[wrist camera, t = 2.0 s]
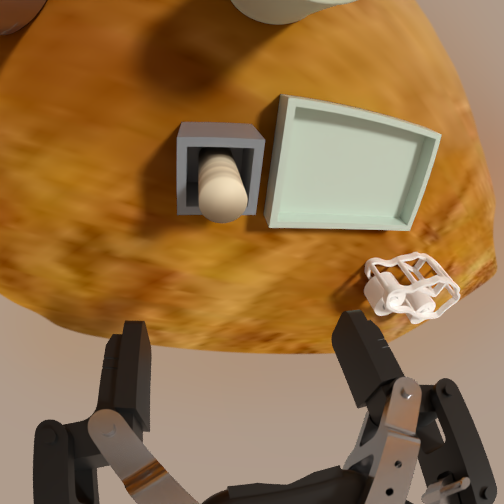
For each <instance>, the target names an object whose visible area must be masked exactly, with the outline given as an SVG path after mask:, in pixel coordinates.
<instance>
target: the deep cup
mask: <svg viewBox="0 0 504 504" xmlns="http://www.w3.org/2000/svg"><path fill="white" fill-rule="evenodd" d="M264 146H265V139H264V138H263V137H262V135H261V134H260V133H259V132H258V131H257V129H256V128H255V127H254V126H253V125H252V124H241V123H219V122H182V123H181V126H180V129H179V132H178V136H177V215H203V214H202V212H201V211H200V208H199V191H198V156H199V152H200V150H201V149H202V148H203V147H229V148H230V150H231V152H232V155H233V158H234V161H235V163H236V166H237V169H238V172H239V174H240V177H241V180H242V183H243V186H244V188H245V191H246V194H247V199H248V201H247V206H246V209H245V211H244V212H243V214H242V215H256V209H257V201H258V193H259V185H260V178H261V170H262V162H263V154H264Z"/></svg>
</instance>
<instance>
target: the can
mask: <svg viewBox="0 0 504 504" xmlns="http://www.w3.org/2000/svg"><path fill="white" fill-rule="evenodd" d="M354 1H357V0H231V2H232V3H233V4H234V6H235V7H236V8H237V9H238V10H239V11H241V12H242V13H243V14H245V15H246V16H248V17H250V18H252V19H254V20H256V21H259V22H263V23H267V24H276V25H280V24H289V23H293V22H296V21H299V20H301V19H303V18H305V17H306V16H307V15H309V14H312V13H315V12H318V11H320V10H323V9H326V8H329V7H333V6H336V5H341V4H347V3H351V2H354Z"/></svg>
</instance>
